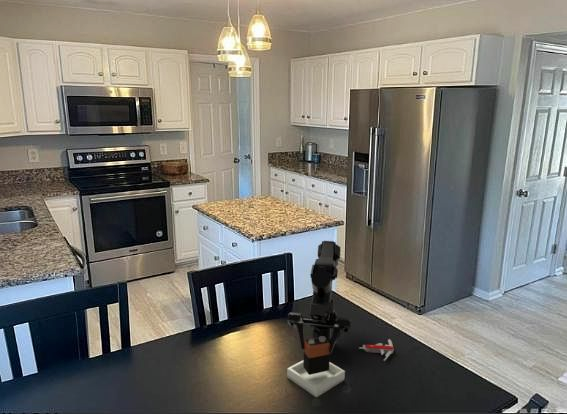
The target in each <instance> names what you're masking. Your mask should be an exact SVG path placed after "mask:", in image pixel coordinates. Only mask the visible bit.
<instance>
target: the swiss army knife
mask: <svg viewBox="0 0 567 414" xmlns="http://www.w3.org/2000/svg"><path fill="white" fill-rule="evenodd" d="M387 342H388V344H384V345H383V343H381V342H380V343H379V342H378V343H376V344H362V347H360V346H359V347H358V349H361V350H364V351H365V352H366V353H373V354H375V353H376V354H377V353H379V354H380V355H381V356H383V355H384V354H385V355H384V357H385V358H383V361H384V362H385V361H386V360H387V359H388V358H389V356H391V354H394V350H395V349H394V345H393V342H392V340H391V339H390V338H389V339H388V340H387Z"/></svg>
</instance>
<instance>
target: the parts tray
mask: <svg viewBox="0 0 567 414" xmlns="http://www.w3.org/2000/svg"><path fill="white" fill-rule="evenodd" d="M303 360H304V359H303ZM303 360H301V361H299V362H297V363H295V364H293V365H291V366H290V367H287V368H286V369H287V371H286V372H287V373H286V377H287V378H288V379H289V380H290V381H292V382H293V383H295V384H296V385H297V386H299V387H301V388H302V389H303V390H305V391H306V392H308V393H309V394H311V396H313V397H315V398H318V397H320V396H321V395H322V394H324V393H326V392H327V391H329V390H330V389H332V388H334V387H335V386H337V385H339V384H341V383H342V382H344V381H345V376H346V375H345V374H346V371H345V370H344V369H342V368H340V367H339V366H338V365H335V364H334V363H332V362H329V370H328V371H325V372H320V373H316V374H311V375H309V374H308V373H307V372H306V370H305V369H304V367H303Z"/></svg>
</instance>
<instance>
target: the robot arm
mask: <svg viewBox="0 0 567 414" xmlns="http://www.w3.org/2000/svg"><path fill="white" fill-rule="evenodd" d="M341 249H342V248H341V246H339V245H338V244H336V241H333V240H322V241H321V243H320V244H318V246H317V258H316V259H315V262H314V264H312V266H311V271H310V273H309V275H310V276H309V277H310V280H311V287H312V298H311V303H310V306H309V314H308V316H309V317H305V316H303V315H302V313H301V312H289V313H288V315H287V318H286V319H287V320H286V321H287V324H288V326H289V327H293V328H294V330H297V333H298V335H299V340H300V341H299V342H300V348H301V351H304V341H305V327H304V326H305V325H310V327H311V328H312V327H313V330H312V337H311V338H309V339H314V338H319V337H320V336H324V337H325V338H326V339H327V340H328V342H329V343H330V352H329V353H330V354H332V353H333V350H334V348H335V345H336V343H337V341H338V339H339V337H340V336H341V335H344V334H345V333H348V334H349V333H351V327H352V326H351V325H352V320H351V319H350V318H349V317H338V315H337V312H336V311H335V302H334V301H333V299H332V293H333V292H332V291H333V290H332V289H333V281H335V280H336V279H338V276H339V270H338V267H337V266H339V260H341V253H342V251H341Z"/></svg>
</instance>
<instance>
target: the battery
mask: <svg viewBox="0 0 567 414" xmlns="http://www.w3.org/2000/svg"><path fill="white" fill-rule="evenodd" d="M329 352H330V343H329V342H328V340H327V339H326V338H325V337H324V336H320V337H319V338H314V339H310V338H309V339H304V350H303V367H304V369H305V370H306V372H307V373H308V374H309V375H311V374H316V373H320V372H325V371H328V370H329V362H330V361H331V360H330V357H331V355H330V353H329Z"/></svg>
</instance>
